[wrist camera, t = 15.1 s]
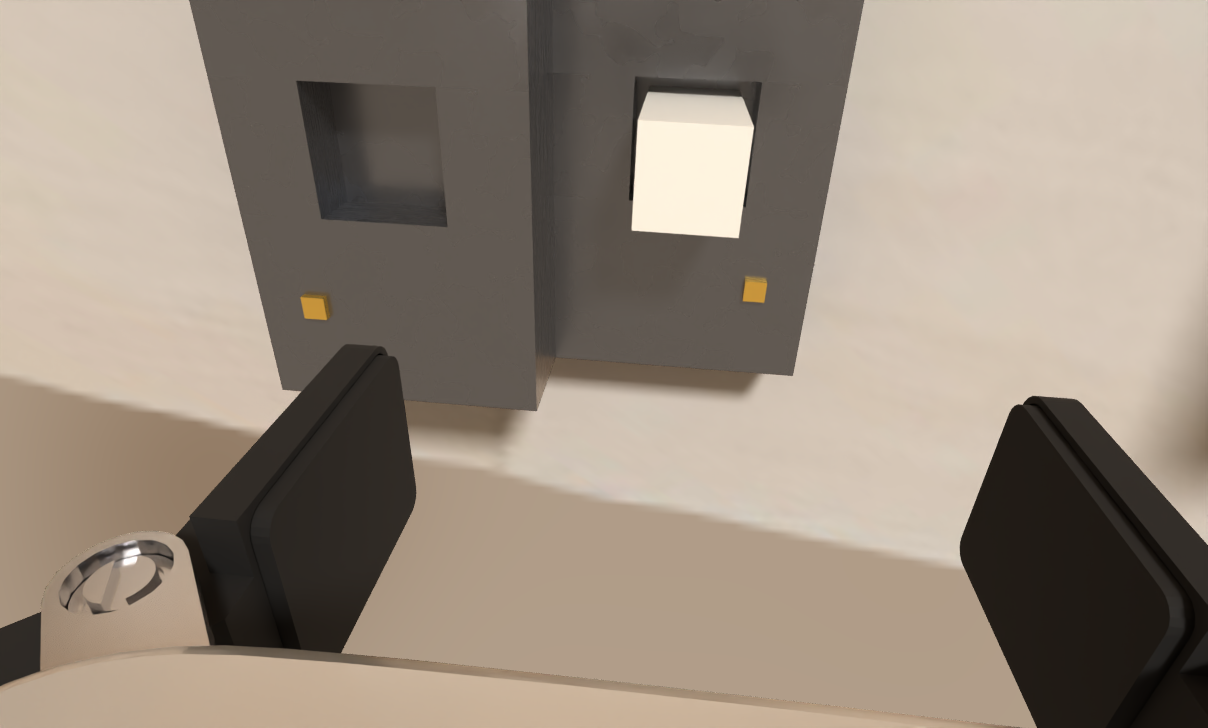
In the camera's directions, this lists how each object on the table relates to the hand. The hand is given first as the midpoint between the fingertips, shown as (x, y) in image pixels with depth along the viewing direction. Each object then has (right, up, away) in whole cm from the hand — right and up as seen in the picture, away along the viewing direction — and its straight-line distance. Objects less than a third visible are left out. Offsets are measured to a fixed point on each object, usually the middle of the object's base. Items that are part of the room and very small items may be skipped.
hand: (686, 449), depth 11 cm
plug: (+3, +12, +21) cm, 24 cm away
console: (-3, +13, +23) cm, 27 cm away
